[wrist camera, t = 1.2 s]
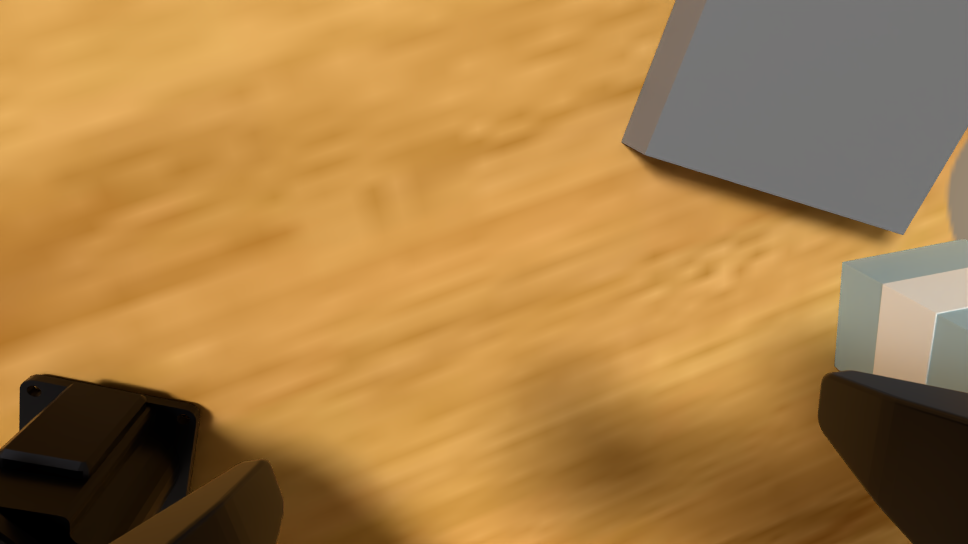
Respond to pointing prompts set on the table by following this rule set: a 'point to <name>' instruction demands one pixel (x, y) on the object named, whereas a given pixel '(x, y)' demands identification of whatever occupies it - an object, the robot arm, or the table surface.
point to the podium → (811, 99)
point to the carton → (907, 315)
